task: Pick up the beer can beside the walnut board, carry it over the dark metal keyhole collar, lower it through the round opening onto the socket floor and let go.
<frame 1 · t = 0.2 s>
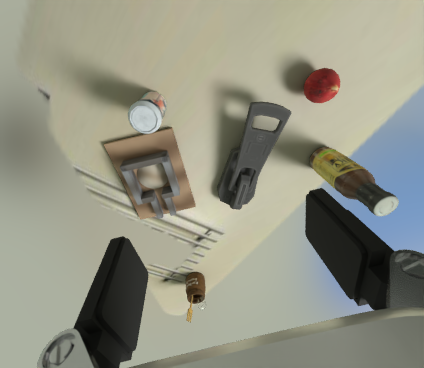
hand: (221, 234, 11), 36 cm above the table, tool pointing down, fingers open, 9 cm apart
sauce bottle: (319, 157, 51), on the table
keyhole board: (155, 176, 48), on the table
zipper pull: (244, 155, 49), on the table
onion: (310, 84, 42), on the table
beer can: (154, 104, 41), on the table
utensil holder: (194, 277, 68), on the table
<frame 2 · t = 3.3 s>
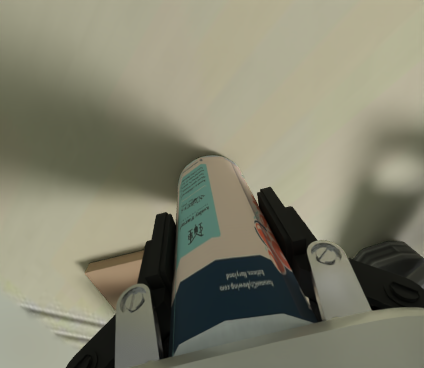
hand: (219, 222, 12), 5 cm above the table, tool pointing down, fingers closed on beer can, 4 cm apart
keyhole board: (195, 306, 23), on the table
zipper pull: (381, 254, 23), on the table
beer can: (210, 181, 16), on the table, touching gripper
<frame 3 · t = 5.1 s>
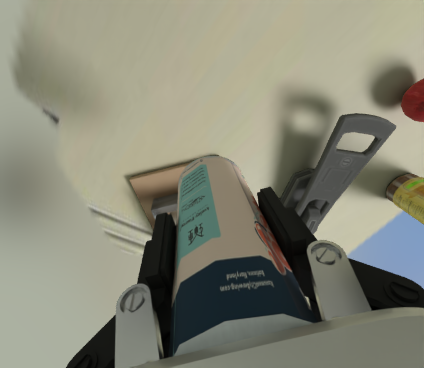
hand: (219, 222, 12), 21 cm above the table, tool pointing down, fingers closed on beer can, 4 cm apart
sauce bottle: (398, 186, 40), on the table
keyhole board: (191, 215, 38), on the table
zipper pull: (307, 180, 37), on the table
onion: (405, 95, 32), on the table
beer can: (210, 181, 16), point 16 cm above the table, touching gripper
when the fingers open (6 cm above the table, at t = 9.3 s): beer can stays where it is, resting on keyhole board.
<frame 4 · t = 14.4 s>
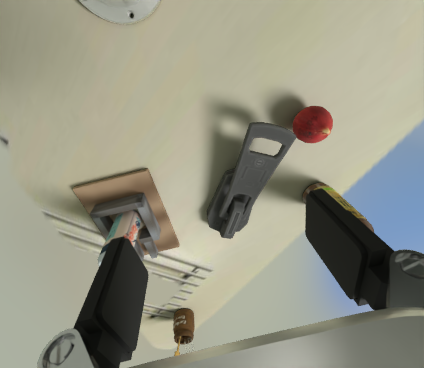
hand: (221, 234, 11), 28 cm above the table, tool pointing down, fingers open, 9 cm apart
sauce bottle: (313, 192, 47), on the table
keyhole board: (133, 218, 44), on the table
zipper pull: (239, 177, 43), on the table
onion: (300, 119, 38), on the table
beer can: (130, 216, 43), point 1 cm above the table, touching keyhole board
utensil holder: (183, 313, 64), on the table
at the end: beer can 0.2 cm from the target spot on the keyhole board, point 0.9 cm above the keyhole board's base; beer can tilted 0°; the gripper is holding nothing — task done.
